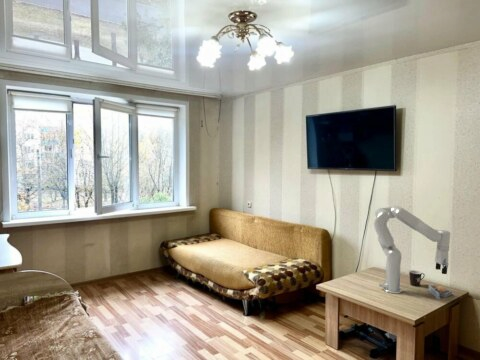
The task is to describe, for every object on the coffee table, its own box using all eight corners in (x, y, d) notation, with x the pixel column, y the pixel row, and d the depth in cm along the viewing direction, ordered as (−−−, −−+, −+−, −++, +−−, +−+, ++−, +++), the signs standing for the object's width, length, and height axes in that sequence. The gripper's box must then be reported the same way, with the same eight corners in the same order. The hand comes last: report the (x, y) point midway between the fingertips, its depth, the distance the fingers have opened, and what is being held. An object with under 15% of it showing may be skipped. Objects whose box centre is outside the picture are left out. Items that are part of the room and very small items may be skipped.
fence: (436, 299, 235) (436, 293, 235) (427, 290, 251) (427, 285, 250) (440, 299, 235) (440, 293, 235) (431, 290, 250) (431, 285, 250)
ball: (439, 294, 242) (439, 287, 242) (436, 291, 247) (436, 284, 247) (446, 294, 242) (447, 287, 241) (443, 291, 247) (443, 284, 246)
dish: (445, 297, 238) (445, 294, 238) (431, 293, 246) (431, 290, 245) (451, 294, 244) (451, 291, 243) (437, 290, 251) (437, 287, 251)
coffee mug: (410, 286, 259) (410, 273, 258) (407, 282, 267) (407, 269, 267) (427, 287, 256) (427, 274, 256) (423, 283, 265) (424, 271, 264)
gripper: (432, 244, 252) (430, 267, 253) (442, 250, 235) (440, 275, 236) (443, 245, 251) (441, 268, 252) (454, 251, 234) (452, 276, 235)
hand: (441, 271), depth 244 cm, fingers open, 9 cm apart
